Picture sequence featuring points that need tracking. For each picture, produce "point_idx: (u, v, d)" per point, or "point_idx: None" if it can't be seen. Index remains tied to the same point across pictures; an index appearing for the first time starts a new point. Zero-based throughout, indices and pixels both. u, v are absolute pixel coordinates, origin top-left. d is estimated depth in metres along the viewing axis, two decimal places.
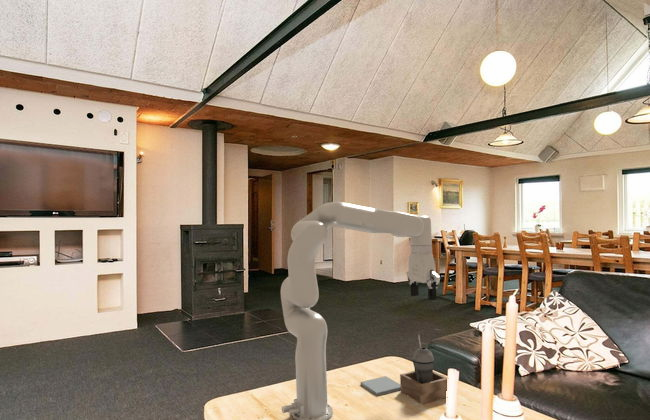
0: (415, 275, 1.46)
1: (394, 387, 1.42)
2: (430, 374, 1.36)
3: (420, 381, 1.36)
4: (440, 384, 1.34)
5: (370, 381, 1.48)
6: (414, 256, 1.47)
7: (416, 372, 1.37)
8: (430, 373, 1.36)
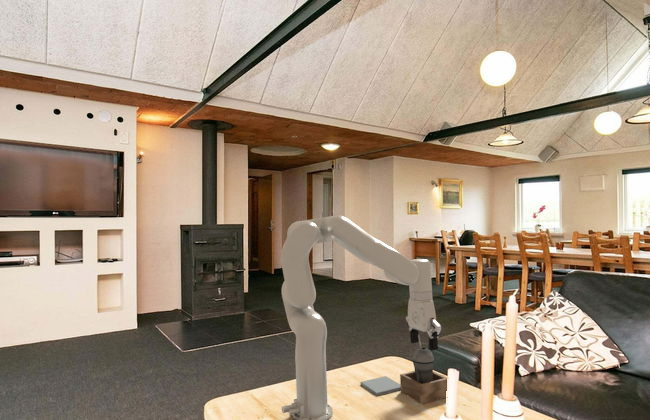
0: (414, 323, 1.38)
1: (394, 387, 1.42)
2: (430, 374, 1.36)
3: (420, 381, 1.36)
4: (440, 384, 1.34)
5: (370, 381, 1.48)
6: (413, 302, 1.39)
7: (416, 372, 1.37)
8: (430, 373, 1.36)
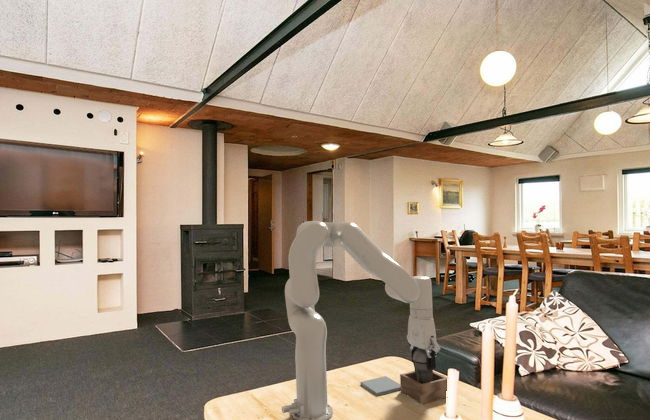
0: (414, 340, 1.38)
1: (394, 387, 1.42)
2: (430, 374, 1.36)
3: (420, 381, 1.36)
4: (440, 384, 1.34)
5: (370, 381, 1.48)
6: (414, 319, 1.39)
7: (416, 372, 1.37)
8: (430, 373, 1.36)
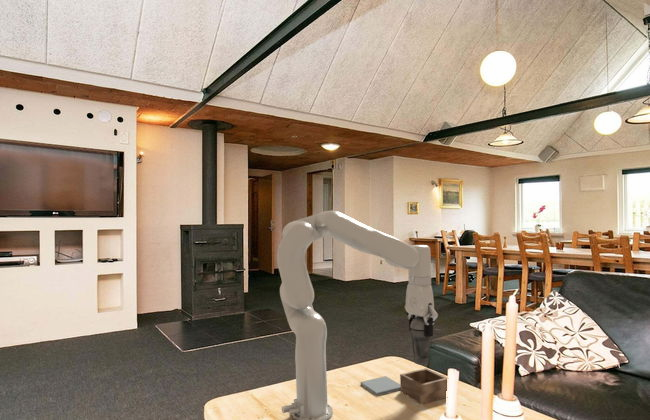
0: (412, 308, 1.38)
1: (394, 387, 1.42)
2: (427, 342, 1.36)
3: (417, 349, 1.36)
4: (440, 384, 1.34)
5: (370, 381, 1.48)
6: (412, 287, 1.39)
7: (413, 340, 1.38)
8: (427, 341, 1.36)
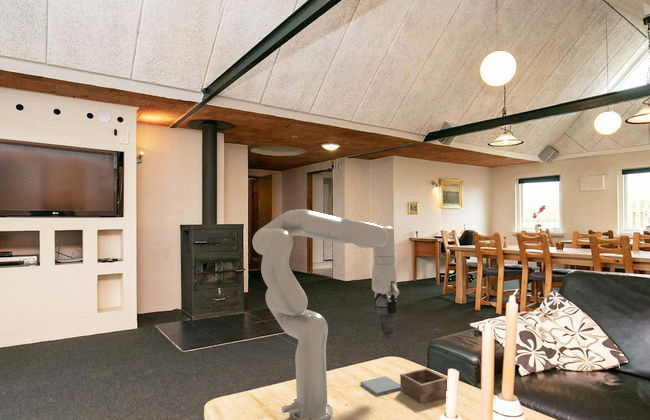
0: (377, 286, 1.45)
1: (394, 387, 1.42)
2: (391, 318, 1.43)
3: (381, 325, 1.43)
4: (440, 384, 1.34)
5: (370, 381, 1.48)
6: (376, 267, 1.45)
7: (378, 317, 1.44)
8: (391, 317, 1.43)
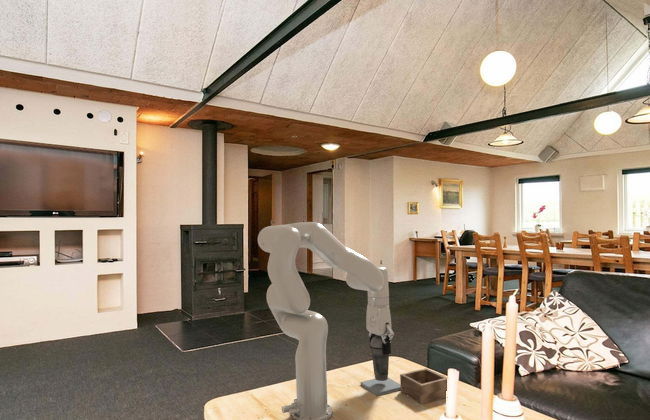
0: (371, 327, 1.46)
1: (394, 387, 1.42)
2: (386, 359, 1.44)
3: (376, 366, 1.44)
4: (440, 384, 1.34)
5: (370, 381, 1.48)
6: (371, 307, 1.46)
7: (373, 357, 1.45)
8: (386, 358, 1.44)
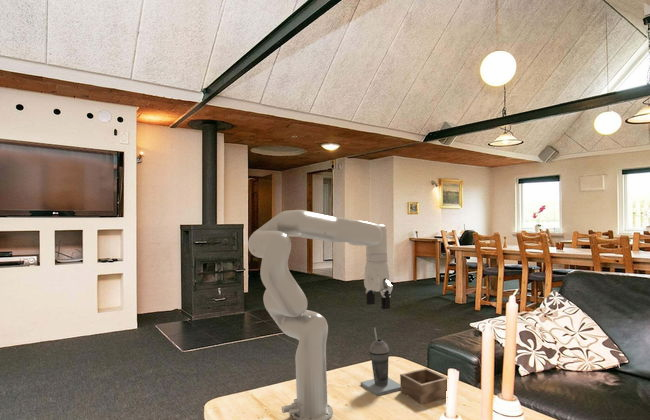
0: (369, 284, 1.46)
1: (394, 387, 1.42)
2: (385, 365, 1.43)
3: (376, 371, 1.44)
4: (440, 384, 1.34)
5: (370, 381, 1.48)
6: (369, 264, 1.46)
7: (372, 363, 1.45)
8: (385, 364, 1.43)
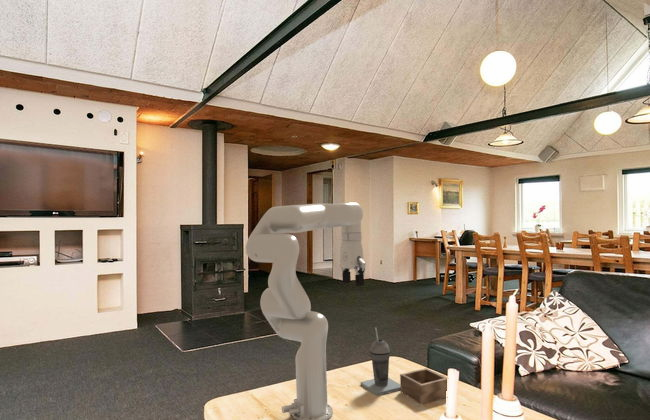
0: (344, 262, 1.50)
1: (394, 387, 1.42)
2: (386, 365, 1.43)
3: (376, 371, 1.44)
4: (440, 384, 1.34)
5: (370, 381, 1.48)
6: (344, 243, 1.51)
7: (373, 363, 1.45)
8: (386, 364, 1.43)
